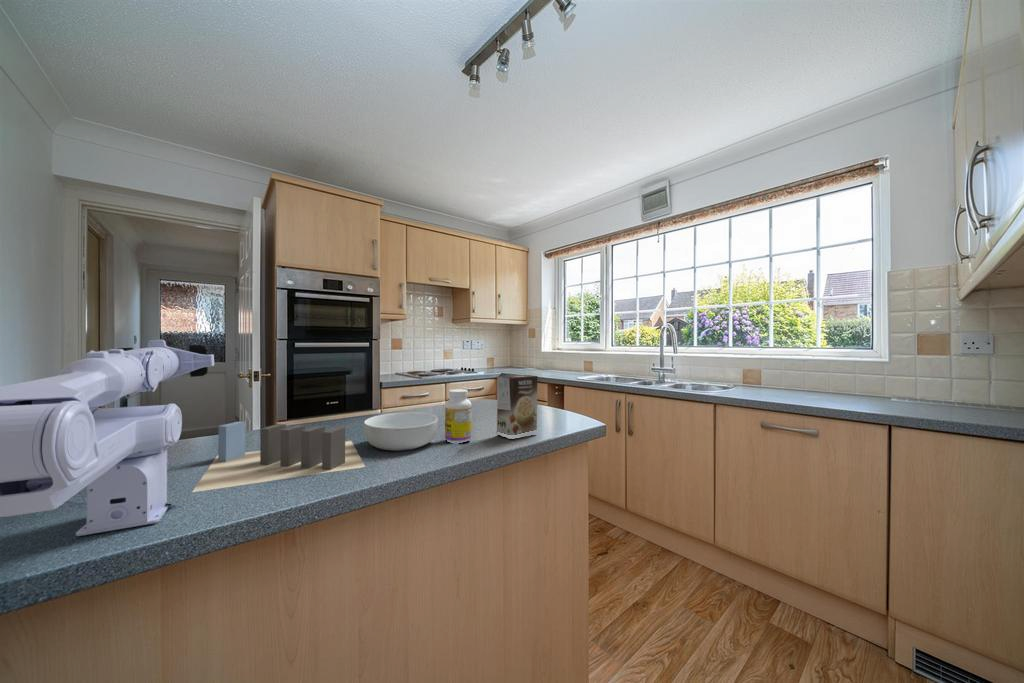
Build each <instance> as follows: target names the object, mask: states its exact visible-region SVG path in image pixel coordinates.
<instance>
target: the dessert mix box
mask: <svg viewBox="0 0 1024 683" xmlns="http://www.w3.org/2000/svg"><path fill="white" fill-rule="evenodd" d="M496 399H497V402H496V403H497V408H496V410H497V413H496V417H497V418H496V433H497V432H500V433H504V434H507V435H517V434H521V433H525V432H529V431H534V430H537V428H538V426H537V425H538V375H530V374H507V375H497V398H496ZM537 431H538V430H537Z"/></svg>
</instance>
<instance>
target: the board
mask: <svg viewBox="0 0 1024 683" xmlns="http://www.w3.org/2000/svg"><path fill="white" fill-rule="evenodd" d="M362 468H366V466H365V463H364V461H363V460H362V458H361V456H360V454H359V453H358V450H357V448H356V447H355V445H354V443H353V441H352V440H345V463H344V464H342V465H340V466H338V467H336V468H334V469H332V470H323V469H322V463H320V464H318V465H316V466H314V467H311V468H301V462H299V463H296V464H294V465H292V466H289V467H284V466H280V461H278V462H275V463H273V464H270V465H260V450H257V451H256V450H255V451H248V452H247V451H245V456H242V457H239V458H236V459H233V460H230V461H227V462H222V461H218V455H216V456H215V458H214V460H213V461H212V463H210V466H208V468H207V470H206V471H205V473H204V474H203V475H202V477H201V478H200V479H199V481H198V482H197V484H196V486H195V487H194V488H193V490H191V493H192V494H193V493H198V492H199V493H200V492H207V491H211V490H212V491H213V490H218V489H219V490H221V489H226V488H232V487H240V486H246V485H253V484H259V483H266V482H267V483H268V482H274V481H281V480H286V479H287V480H288V479H294V478H300V477H307V476H314V475H322V474H328V473H335V472H342V471H349V470H355V469H362Z"/></svg>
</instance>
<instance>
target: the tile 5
mask: <svg viewBox="0 0 1024 683" xmlns="http://www.w3.org/2000/svg"><path fill="white" fill-rule="evenodd" d="M345 441H346V427H344V426H343V427H342V426H335V427H333V428H331V429H327V430H325V431H324V432H322V469H323V470H332V469H334V468H336V467H338V466H340V465H342V464H344V463H345Z"/></svg>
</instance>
